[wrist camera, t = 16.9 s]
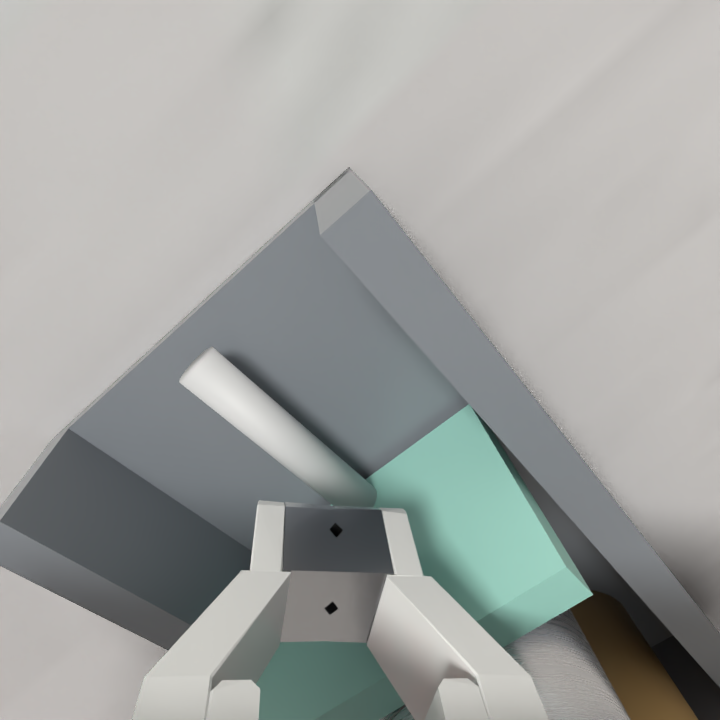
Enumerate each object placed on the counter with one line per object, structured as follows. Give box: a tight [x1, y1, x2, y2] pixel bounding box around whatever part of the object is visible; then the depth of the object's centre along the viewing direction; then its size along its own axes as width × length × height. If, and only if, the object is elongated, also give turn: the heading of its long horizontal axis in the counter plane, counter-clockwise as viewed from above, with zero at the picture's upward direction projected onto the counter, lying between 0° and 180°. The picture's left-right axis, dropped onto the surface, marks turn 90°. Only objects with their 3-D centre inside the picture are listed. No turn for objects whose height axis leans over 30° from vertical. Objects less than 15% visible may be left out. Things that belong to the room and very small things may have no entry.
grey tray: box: [0, 168, 720, 720], centre depth 13 cm, size 22×10×5 cm, turn 40°
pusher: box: [179, 347, 593, 720], centre depth 10 cm, size 6×7×5 cm
